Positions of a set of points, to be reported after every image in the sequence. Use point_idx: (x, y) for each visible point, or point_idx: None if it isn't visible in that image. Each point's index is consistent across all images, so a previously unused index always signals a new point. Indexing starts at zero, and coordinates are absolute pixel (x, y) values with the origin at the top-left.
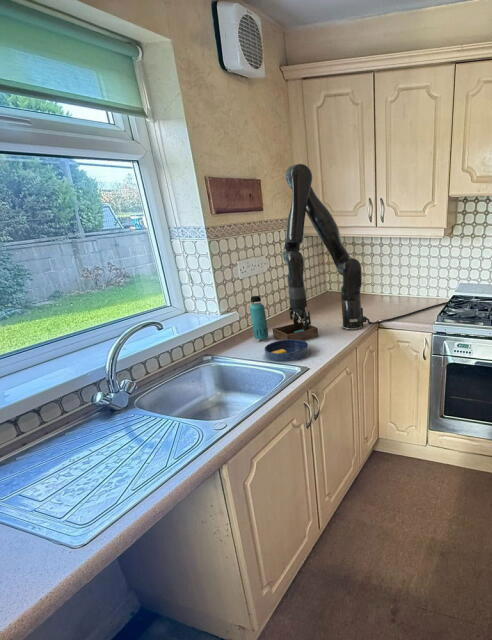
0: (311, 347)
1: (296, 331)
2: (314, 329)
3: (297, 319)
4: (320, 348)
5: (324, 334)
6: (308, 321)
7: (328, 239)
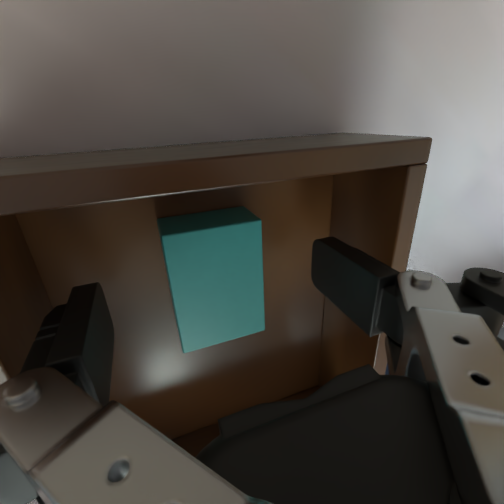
0: (443, 276)
1: (205, 334)
2: (412, 192)
3: (84, 407)
4: (491, 238)
5: (312, 6)
6: (498, 312)
7: None
